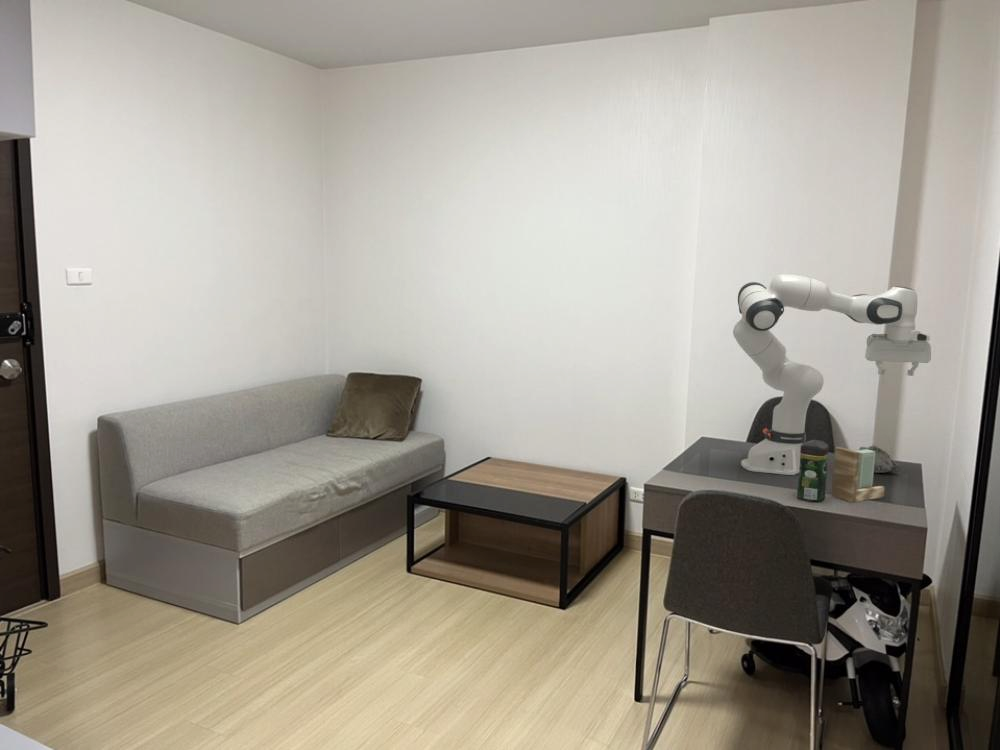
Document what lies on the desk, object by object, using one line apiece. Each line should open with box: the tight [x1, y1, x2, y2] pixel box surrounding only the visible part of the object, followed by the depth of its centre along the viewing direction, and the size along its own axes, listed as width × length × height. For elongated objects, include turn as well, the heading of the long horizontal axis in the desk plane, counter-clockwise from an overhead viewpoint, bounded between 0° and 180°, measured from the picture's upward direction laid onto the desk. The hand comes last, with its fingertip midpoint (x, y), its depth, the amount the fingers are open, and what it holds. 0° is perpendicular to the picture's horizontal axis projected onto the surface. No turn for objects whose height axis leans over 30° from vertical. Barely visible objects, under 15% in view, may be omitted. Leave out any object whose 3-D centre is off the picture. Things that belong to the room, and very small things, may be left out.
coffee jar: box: [796, 439, 829, 502], centre depth 242 cm, size 10×8×19 cm
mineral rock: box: [858, 445, 900, 474], centre depth 274 cm, size 13×11×10 cm
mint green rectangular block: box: [855, 449, 875, 490], centre depth 246 cm, size 6×3×14 cm, turn 115°
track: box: [831, 446, 886, 503], centre depth 245 cm, size 15×8×16 cm, turn 115°
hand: (895, 374), depth 260 cm, fingers open, 8 cm apart
